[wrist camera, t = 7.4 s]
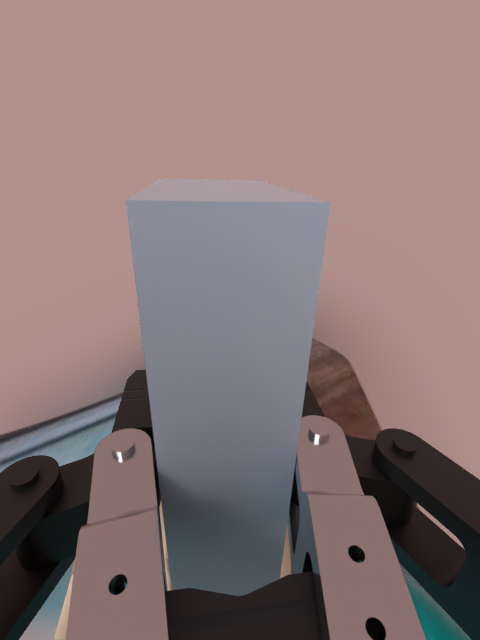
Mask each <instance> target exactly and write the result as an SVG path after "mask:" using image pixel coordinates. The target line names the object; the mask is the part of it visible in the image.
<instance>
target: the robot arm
mask: <svg viewBox="0 0 480 640" xmlns="http://www.w3.org/2000/svg"><path fill="white" fill-rule="evenodd" d="M160 502H161V495H160V486H159V478H158V469H157V461H156V452H155V444H154V435H153V427H152V418H151V410H150V401H149V393H148V384H147V376H146V370H137V371H135V372H134V373H133V374H132V375H131V376H130V377H129V378H128V379H127V382H126V386H125V389H124V392H123V396H122V401H121V402H120V406H119V409H118V413H117V416H116V419H115V423H114V426H113V430H112V433H111V434H109V435H108V436H106V437H105V438H104V439H103V440H102V441H101V442H100V443H99V444H98V446H97V448H96V450H95V453H94V454H92V455H90V456H88V457H86V458H84V459H81V460H78V461H75V462H72V463H69V464H66V465H63V466H60V467H59V465H58V463H57V461H56V460H55V459H53V458H51V457H49V456H42V455H39V456H32V457H28V458H25V459H22V460H20V461H17V462H15V463H14V464H12V465H10V466H9V467H7V468H6V469H5V470H3V471H2V472H1V473H0V640H19V639H20V637H21V636H22V634H23V633H24V631H25V630H26V628H27V627H28V626H29V624H30V622H31V621H32V619H33V618H34V617H35V615H36V614H37V612H38V611H39V610H40V608H41V607H42V605H43V604H44V602H45V601H46V600H47V598H48V597H49V595H50V593H51V592H52V591H53V590H54V588H55V586H56V585H57V584H58V582H59V581H60V579H61V578H62V576H63V575H64V574H65V572H66V571H67V569H68V568H69V566H70V565H71V564H72V562H73V561H74V559H75V566H74V574H73V582H72V591H71V599H70V607H69V615H68V623H67V631H66V639H65V640H426V638H425V635H424V632H423V629H422V626H421V624H420V621H419V618H418V615H417V612H416V609H415V607H414V604H413V601H412V598H411V595H410V592H409V590H408V587H407V584H406V581H405V578H404V575H403V573H402V570H401V567H400V564H399V562H400V563H401V564H402V566H403V567H404V568H405V569H406V570H407V571H408V572H409V573H410V574H411V575H412V576H413V577H414V578H415V579H416V580H417V582H418V583H419V584H420V585H421V586H422V587H423V588H424V589H425V590H426V591H427V592H428V593H429V594H430V595H431V596H432V597H433V599H434V600H435V601H436V602H437V603H438V604H439V605H440V606H441V607H442V608H443V609H444V610H445V611H446V612H447V613H448V614H449V616H450V617H451V618H452V619H453V620H454V621H455V622H456V623H457V624H458V625H459V626H460V627H461V628H462V629H463V630H464V631H465V633H466V634H467V635H468V636H469V637H470V638H471V639H472V640H480V480H479V479H478V478H476V477H475V476H473V475H472V474H470V473H469V472H467V471H466V470H465V469H463V468H462V467H461V466H459V465H458V464H456V463H455V462H453V461H452V460H451V459H449V458H448V457H446V456H445V455H443V454H442V453H441V452H439V451H438V450H436V449H435V448H433V447H432V446H430V445H429V444H428V443H426V442H425V441H423V440H422V439H421V438H419V437H417V436H416V435H414V434H412V433H410V432H407V431H404V430H400V429H385V430H383V431H381V432H380V433H379V434H378V435H377V437H376V441H373V440H367V439H362V438H356V437H351V436H348V435H345V434H344V432H343V430H342V429H341V427H340V426H339V425H338V424H337V423H335V422H334V421H332V420H330V419H328V418H326V417H325V416H324V414H323V412H322V410H321V408H320V407H319V405H318V403H317V401H316V399H315V397H314V395H313V393H312V391H311V390H310V387H309V385H308V383H307V382H306V388H305V395H304V403H303V410H302V418H301V425H300V433H299V440H298V447H297V455H296V462H295V470H294V477H293V485H292V492H291V499H290V507H289V514H288V534H289V546H290V558H291V574H290V575H287V576H284V577H282V578H280V579H278V580H276V581H274V582H272V583H270V584H268V585H265V586H263V587H261V588H259V589H257V590H255V591H253V592H251V593H249V594H246V595H243V596H234V595H229V594H223V593H217V592H211V591H206V590H200V589H194V588H184V589H177V590H169V591H168V589H167V580H166V570H165V559H164V549H163V539H162V529H161V519H160V509H159V506H160ZM417 503H418V504H419V505H421V506H422V507H423V508H424V509H425V510H426V511H428V512H429V513H430V514H431V515H432V516H433V517H434V518H436V519H437V520H438V521H439V522H440V523H441V524H443V525H444V526H445V527H446V528H447V529H448V530H449V531H451V532H452V533H453V534H454V535H455V536H456V537H457V538H458V539H459V540H460V542H461V543H462V545H463V546H464V549H465V550H464V549H463V548H462V547H461V546H459V545H458V544H457V543H456V542H455V541H454V540H452V538H450V537H449V536H448V535H447V534H446V533H445V532H444V531H443V530H441V529H440V528H439V527H438V526H437V525H436V524H435V523H433V522H432V521H431V520H430V519H429V518H428V517H426V515H424V514H423V513H422V512H421V511H420V510H419V509H418V508H416V504H417ZM75 557H76V558H75Z"/></svg>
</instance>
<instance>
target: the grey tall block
mask: <svg viewBox="0 0 480 640" xmlns="http://www.w3.org/2000/svg"><path fill="white" fill-rule="evenodd" d="M126 206H127V214H128V223H129V231H130V240H131V248H132V256H133V265H134V274H135V282H136V290H137V299H138V308H139V316H140V325H141V333H142V341H143V350H144V359H145V367H146V376H147V384H148V393H149V401H150V410H151V418H152V427H153V435H154V444H155V452H156V461H157V469H158V478H159V486H160V495H161V503H162V512H163V520H164V529H165V537H166V546H167V554H168V563H169V571H170V580H171V588H172V590H177V589H184V588H194V589H200V590H206V591H211V592H217V593H223V594H229V595H234V596H243V595H246V594H249V593H251V592H253V591H255V590H257V589H259V588H261V587H263V586H265V585H268V584H270V583H272V582H274V581H276V580H278V579H280V574H281V566H282V559H283V551H284V544H285V537H286V529H287V522H288V514H289V507H290V499H291V492H292V485H293V477H294V470H295V462H296V455H297V447H298V440H299V433H300V425H301V418H302V410H303V403H304V395H305V388H306V381H307V373H308V366H309V358H310V351H311V343H312V336H313V329H314V321H315V314H316V306H317V299H318V291H319V283H320V277H321V269H322V261H323V254H324V247H325V239H326V231H327V224H328V217H329V209H330V202H327V201H324V200H321V199H317V198H314V197H311V196H308V195H304V194H302V193H298V192H295V191H292V190H288V189H285V188H282V187H279V186H276V185H273V184H269V183H266V182H263V181H260V180H215V179H213V180H212V179H164V178H163V179H160V180H158V181H157V182H155V183H153V184H152V185H150V186H148V187H147V188H145V189H144V190H142V191H140V192H139V193H137V194H135V195H134V196H132V197H130V198H129V199H127V200H126Z"/></svg>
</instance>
